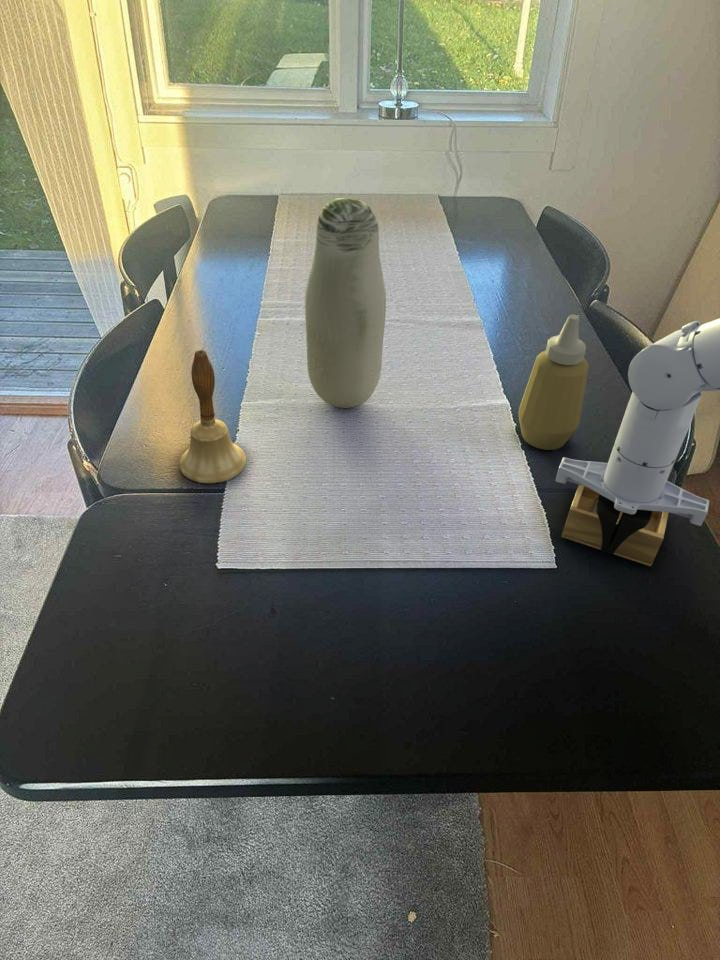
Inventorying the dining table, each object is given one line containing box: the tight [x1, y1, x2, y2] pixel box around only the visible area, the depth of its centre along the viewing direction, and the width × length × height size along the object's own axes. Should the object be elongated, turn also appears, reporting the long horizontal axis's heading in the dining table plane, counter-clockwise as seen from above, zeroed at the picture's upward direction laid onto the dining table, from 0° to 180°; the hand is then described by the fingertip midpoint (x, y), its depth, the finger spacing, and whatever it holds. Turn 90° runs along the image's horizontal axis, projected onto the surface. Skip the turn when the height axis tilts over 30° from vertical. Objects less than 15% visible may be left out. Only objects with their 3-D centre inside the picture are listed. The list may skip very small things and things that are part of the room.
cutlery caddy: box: [561, 484, 670, 567], centre depth 80 cm, size 8×10×4 cm
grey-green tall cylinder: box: [304, 197, 387, 409], centre depth 91 cm, size 10×10×28 cm
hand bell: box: [179, 349, 247, 484], centre depth 83 cm, size 8×8×16 cm
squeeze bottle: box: [517, 314, 590, 451], centre depth 89 cm, size 8×8×18 cm
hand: (608, 546), depth 76 cm, fingers closed, pressing on cutlery caddy
